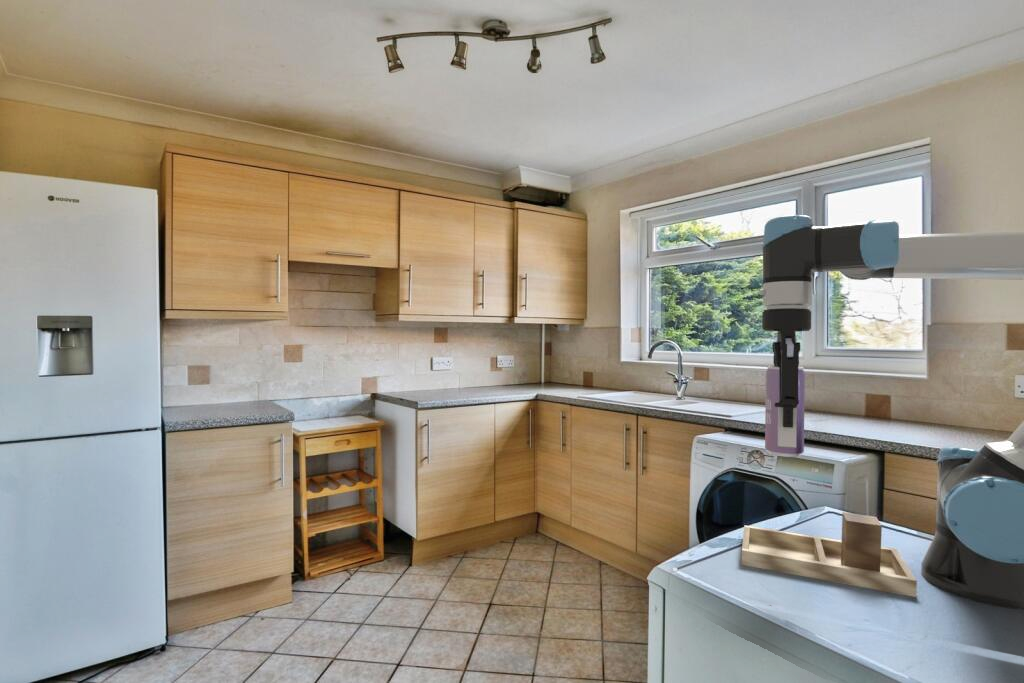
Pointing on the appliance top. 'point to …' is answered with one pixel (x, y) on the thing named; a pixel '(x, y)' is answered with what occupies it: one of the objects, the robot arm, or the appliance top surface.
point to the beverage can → (772, 415)
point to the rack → (822, 560)
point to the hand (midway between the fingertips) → (784, 442)
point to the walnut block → (861, 542)
